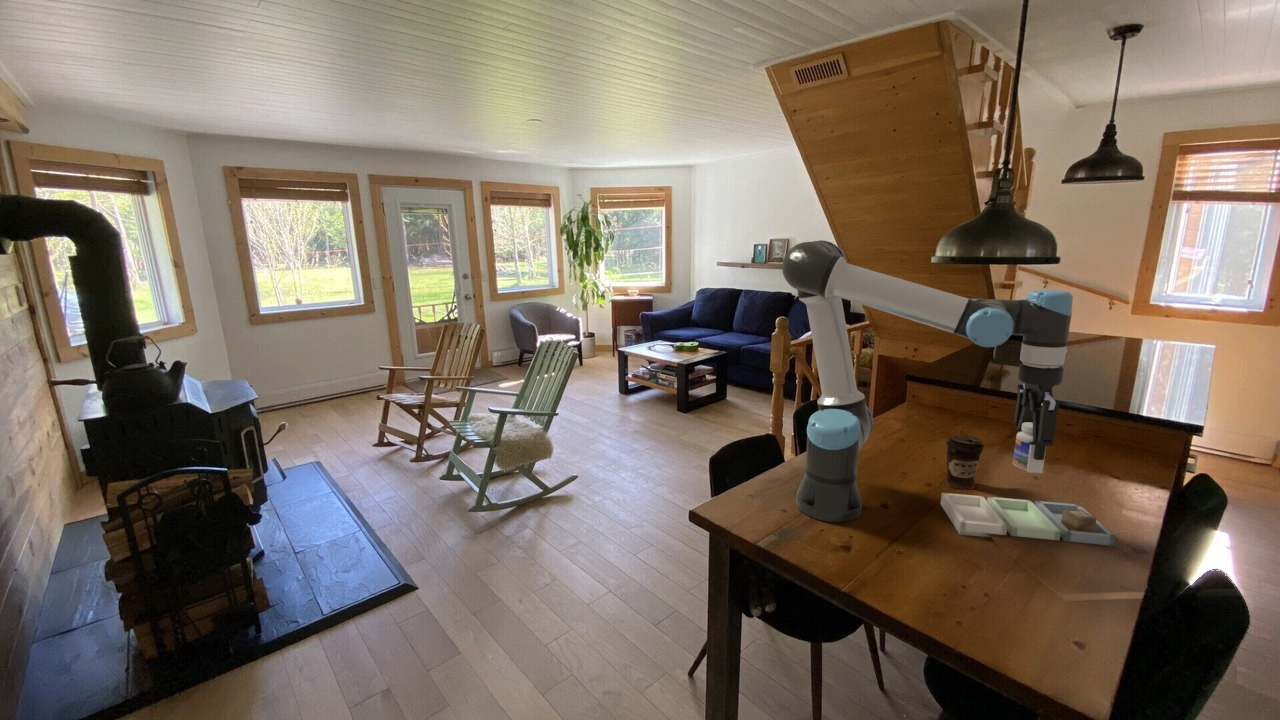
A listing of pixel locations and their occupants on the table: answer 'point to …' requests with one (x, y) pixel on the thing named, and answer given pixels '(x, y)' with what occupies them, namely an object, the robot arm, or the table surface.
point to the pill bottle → (1023, 446)
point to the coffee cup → (962, 460)
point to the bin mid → (1024, 518)
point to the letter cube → (1078, 520)
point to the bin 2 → (1098, 537)
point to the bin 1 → (972, 515)
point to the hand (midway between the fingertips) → (1028, 466)
